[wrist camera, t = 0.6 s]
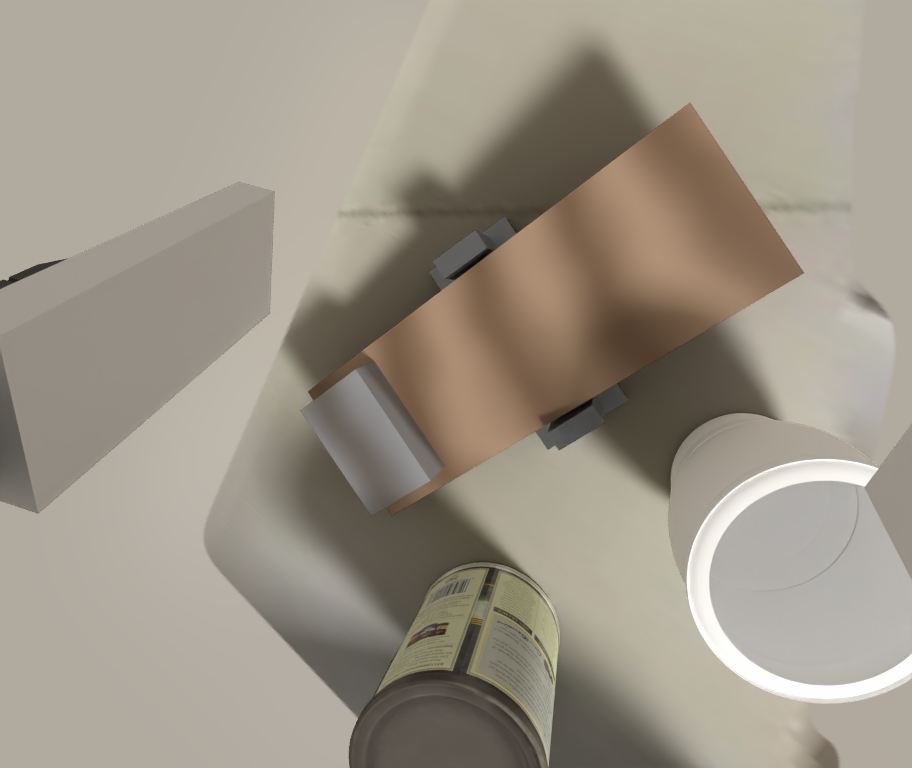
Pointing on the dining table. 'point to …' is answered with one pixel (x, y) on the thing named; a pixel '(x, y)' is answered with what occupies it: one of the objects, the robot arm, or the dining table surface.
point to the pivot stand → (467, 257)
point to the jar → (789, 560)
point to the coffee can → (467, 679)
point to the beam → (553, 317)
